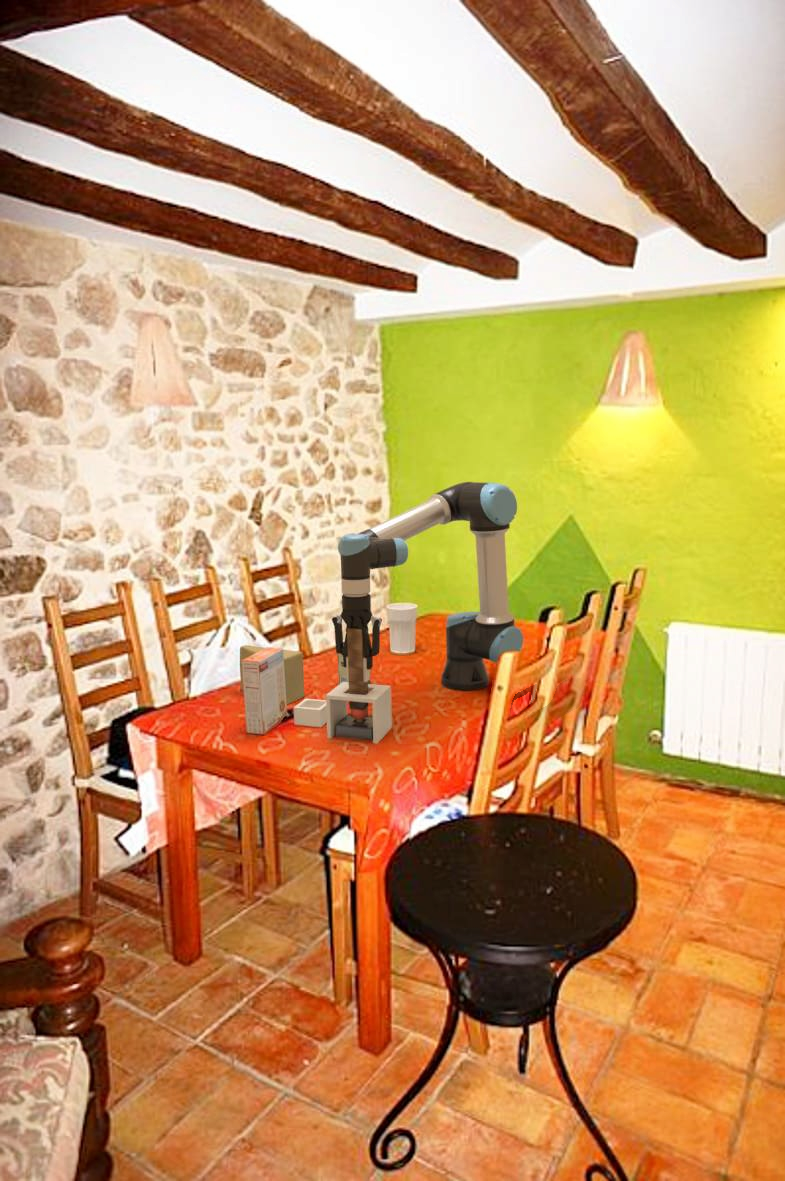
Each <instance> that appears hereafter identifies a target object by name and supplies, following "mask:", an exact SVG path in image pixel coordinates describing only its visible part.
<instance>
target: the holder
mask: <svg viewBox="0 0 785 1181" xmlns="http://www.w3.org/2000/svg"><path fill="white" fill-rule="evenodd" d="M293 720H294V721H293V723H294V725H296V726H303V727H315V728H322V727H323V726H324V725H325V724H327V712H326V699H314V698H304V699H303V700H301V701H300V702H299V703H297V704H296V705H295V706H294V707H293Z"/></svg>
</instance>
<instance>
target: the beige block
mask: <svg viewBox="0 0 785 1181" xmlns="http://www.w3.org/2000/svg"><path fill="white" fill-rule="evenodd" d="M264 648H265V647H262V646H255V645H250V644H249V645H247V644H244V645H242V646H240V648H239V673H240V674H239V675H240V676H239V677H240V689H241V692H244V689H243V676H242V663H241V661H242V660H244V659H245V658H247V657H249V656H251V655H253V654H255V653H257V652H258V651H260V650H262V649H264ZM283 655H284V671H285V688H286V704H287V705H289V704H292V703H294V702H296V701H298V700H300V699H303V698H304V697H305V676H304V656H303V655H304V654H303V652H302V651H298V650H297V651H296V650H290V649H283Z"/></svg>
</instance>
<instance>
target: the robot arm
mask: <svg viewBox="0 0 785 1181" xmlns="http://www.w3.org/2000/svg"><path fill="white" fill-rule="evenodd" d="M517 512H518V502H517V497H516V495H515V492H513V490H512V489H510V488H509V486H507V485H505V484H502V483H496V482H477V481H475V482H473V481H465V482H460V483H456V484H454V485H450V486H449V487H447V488H445V489H442V490H440V491H437V492H435V493H434V494H431V495H430V496H429V498H428V500H426V501H425V502H423V503H420V504H418V505H416V506H413V507H411V508H410V509H408V510H405V511H404V512H402V513H400V514H397V515H395V516H394V517H391V518H388V519H386V520H385V521H382V522H380V523H378V524H376V525H374V526H372V527H370V528H368V529H365V530H363V531H361V532H359V533H358V532H357V533H346V534H344V535H343V536H342V537H341V538H340V539H339V541H338V543H337V550H338V554H339V555H340V573H341V575H340V576H341V581H340V582H341V593H342V596H341V608H342V611H341V612H340V614H339V615H338V614H337V615H335V616H333V617H332V618H331V621H332V624H333V627H334V639H335V640H334V641H335V653H336V654H337V655H338V654H342V655H343V666H344V667H345V668H347V681H349V678H348V643H347V628H359V629H362V633H363V646H364V651H365V655H366V656H365V657H364V658H363V677H364V682H367V681H368V680H370V681H371V670H372V669H373V666H374V665H373V664H374V662H373V657H376V656H378V654H380V639H381V638H380V634H381V633H380V631H381V624H382V622H383V618H381V617H376V616H374V615H373V612H372V604H371V601H372V600H371V598H372V597H371V594H370V592H371V570H375V569H376V570H377V569H382V568H391V567H392V568H395V567H397V566H402V565H404V564H405V563H406V562H407V561H408V557H409V548H408V544H407V542H406V541H407V540H408V539H411V538H413V537H415V536H417V535H420V534H421V533H423V532H425V531H427V530H429V529H431V528H433V527H435V526H437V525H442V526H443V525H445V526H446V525H448V524H449V523H451V522H457V521H458V522H459V521H462V522H463V521H464V522H469V531H470V532H471V533H472V534H474V535H475V546H476V547H475V548H476V549H475V550H476V565H477V580H478V581H477V582H478V583H477V584H478V597H479V598H478V600H479V601H478V602H479V611H463V612H457V613H452V614H450V615H448V617H447V618H446V626H445V632H446V633H445V634H446V635H445V637H446V638H445V639H446V640H445V641H446V644H445V645H446V661H445V664H444V668H443V671H442V673H441V678H440V679H441V685H442V686H443V687H445V688H447V689H452V690H457V691H473V690H480V689H485V688H486V687H487V686H488V685H490V684H489V683H490V682H489V679H490V677H489V674H488V671H487V667H486V664H485V661H484V659H485V660H488V661H491V662H492V663H498V662H497V659H498V657H499V655H500V654H501V653H502V652H504V651H510V650H515V651H519V653H520V652H521V650H522V648H523V644H524V635H523V632H522V630H521V629H520V628H519V627H517V626H515V615H513V614H512V613H511V612H510V610H509V595H508V594H509V593H508V592H509V591H508V574H507V571H508V569H507V555H506V554H507V553H506V552H507V551H506V533H507V532H508V530H509V529H510V526H511V525H510V524H511V523H512V522H513V520H514V519H515V518H516V517H515V515H517ZM343 622H344V623H345V625H346V626H345V635H343V624H342V623H343ZM370 622H371V625H372V629H371V630H372V632H371V638H372V639H371V638H370V634H369V623H370ZM365 627H366V628H365ZM364 628H365V629H364ZM344 636H345V637H344ZM343 642H344V647H343Z"/></svg>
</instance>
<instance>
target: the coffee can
mask: <svg viewBox="0 0 785 1181" xmlns="http://www.w3.org/2000/svg"><path fill="white" fill-rule="evenodd" d="M343 647H344V641H343ZM337 665H338V666H337V669H338V670H337V672H338V673H337V674H338V685H339V684H341V683H342V682H349V681H347V668H345V667H344V666H343V655H342V654H338V653H337ZM368 684H371V679H370V680H368Z"/></svg>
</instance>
